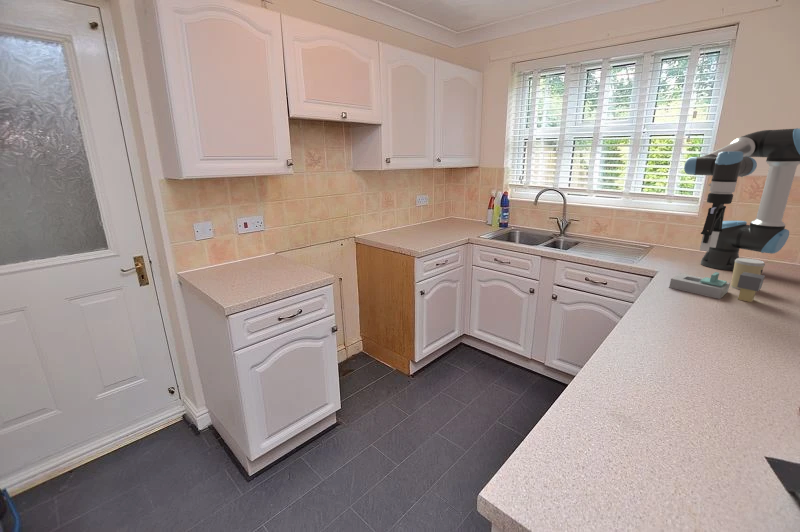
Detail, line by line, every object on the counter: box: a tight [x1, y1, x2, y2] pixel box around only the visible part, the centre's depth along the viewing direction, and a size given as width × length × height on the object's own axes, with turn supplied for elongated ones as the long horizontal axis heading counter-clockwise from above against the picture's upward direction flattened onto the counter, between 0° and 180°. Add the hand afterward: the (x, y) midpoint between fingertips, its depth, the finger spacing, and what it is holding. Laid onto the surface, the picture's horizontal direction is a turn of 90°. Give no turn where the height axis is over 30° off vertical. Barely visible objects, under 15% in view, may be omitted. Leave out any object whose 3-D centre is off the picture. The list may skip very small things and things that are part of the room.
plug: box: [737, 272, 765, 303], centre depth 143 cm, size 6×6×10 cm
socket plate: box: [668, 272, 731, 300], centre depth 155 cm, size 12×17×4 cm
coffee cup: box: [730, 257, 766, 291], centre depth 156 cm, size 9×9×12 cm
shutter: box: [700, 271, 728, 287], centre depth 151 cm, size 7×7×4 cm
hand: (707, 248), depth 151 cm, fingers open, 9 cm apart
